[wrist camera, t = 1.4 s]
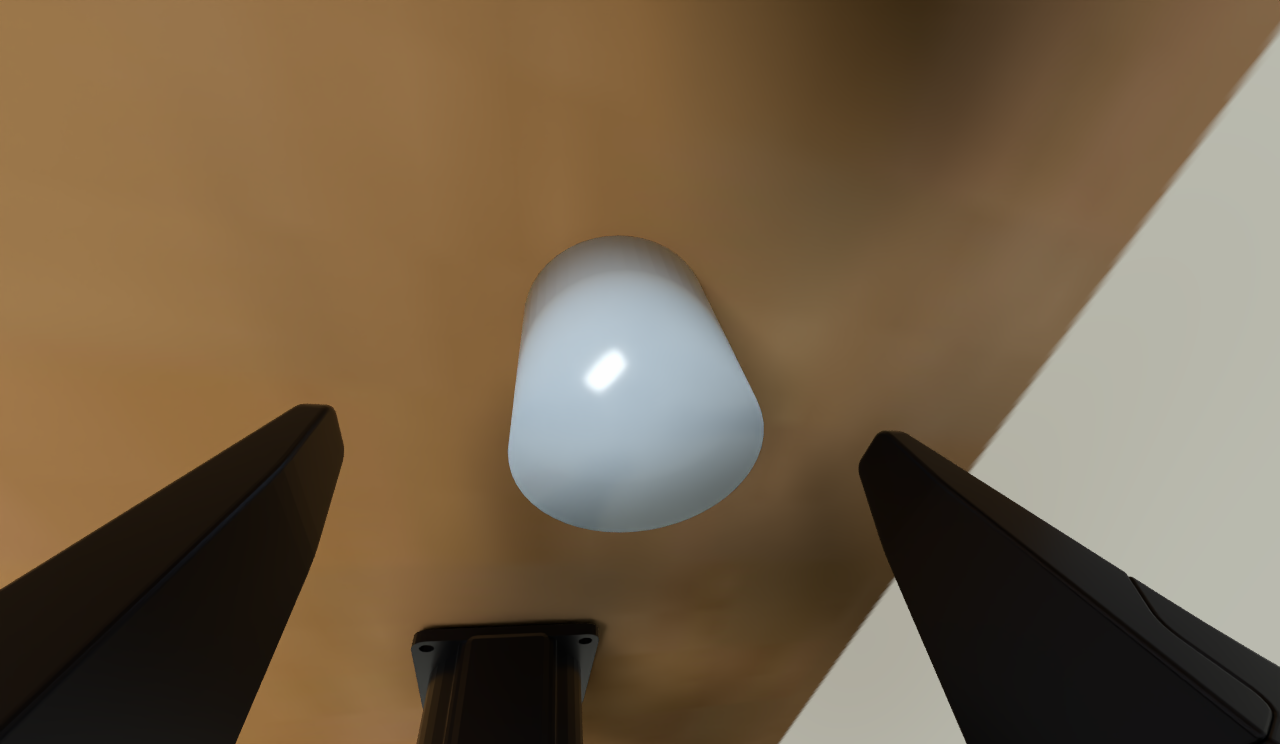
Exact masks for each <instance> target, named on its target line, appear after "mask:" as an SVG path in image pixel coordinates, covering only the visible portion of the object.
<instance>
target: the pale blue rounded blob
mask: <svg viewBox="0 0 1280 744" xmlns="http://www.w3.org/2000/svg"><path fill="white" fill-rule="evenodd" d="M763 436H764V423H763V418H762V412H761V409H760V407H759V404H758V402H757V399H756V397H755V395H754V393H753V391H752V389H751V387H750V385H749V383H748V381H747V379H746V377H745V375H744V373H743V371H742V369H741V367H740V365H739V363H738V361H737V359H736V356H735V354H734V352H733V350H732V348H731V346H730V344H729V342H728V340H727V338H726V336H725V334H724V332H723V330H722V328H721V326H720V324H719V322H718V320H717V318H716V316H715V314H714V312H713V309H712V307H711V305H710V303H709V301H708V299H707V297H706V295H705V293H704V291H703V289H702V287H701V285H700V283H699V281H698V279H697V277H696V276H695V274H694V272H693V271H692V270H691V268H690V267H689V266H688V265H687V264H686V262H685V261H683V260H682V259H681V258H680V257H679V256H678V255H677V254H675V253H674V252H672V251H671V250H669V249H668V248H666V247H664V246H662V245H660V244H658V243H656V242H653V241H650V240H646V239H643V238H638V237H632V236H605V237H600V238H594V239H590V240H587V241H584V242H581V243H579V244H577V245H575V246H572V247H570V248H568V249H567V250H565V251H563V252H562V253H560V254H559V255H557V256H556V257H555V258H554V259H553V260H551V261H550V262H549V263H548V264H547V265H546V266H545V267H544V268H543V270H542V271H541V272H540V273H539V274H538V276H537V278H536V279H535V281H534V282H533V284H532V286H531V288H530V290H529V293H528V296H527V299H526V303H525V309H524V317H523V326H522V334H521V343H520V352H519V360H518V369H517V378H516V386H515V395H514V403H513V412H512V421H511V429H510V438H509V447H508V458H509V465H510V469H511V473H512V476H513V478H514V480H515V482H516V484H517V486H518V487H519V489H520V490H521V492H522V493H523V494H524V496H525V497H526V498H527V499H528V500H529V501H530V502H531V503H532V504H534V505H535V506H536V507H537V508H539V509H540V510H541V511H543V512H544V513H546V514H548V515H550V516H551V517H553V518H555V519H557V520H560V521H562V522H564V523H567V524H570V525H573V526H576V527H580V528H584V529H589V530H595V531H603V532H636V531H645V530H651V529H656V528H661V527H665V526H669V525H672V524H675V523H678V522H681V521H684V520H686V519H689V518H691V517H694V516H696V515H698V514H700V513H702V512H704V511H706V510H707V509H709V508H711V507H712V506H714V505H716V504H717V503H718V502H720V501H721V500H723V499H724V498H725V497H727V496H728V495H729V494H730V493H731V492H732V491H733V490H735V489H736V488H737V487H738V485H739V484H740V483H741V482H742V481H743V480H744V479H745V477H746V476H747V475H748V473H749V472H750V471H751V469H752V467H753V465H754V464H755V462H756V460H757V458H758V455H759V452H760V450H761V447H762V441H763Z"/></svg>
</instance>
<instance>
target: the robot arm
mask: <svg viewBox="0 0 1280 744" xmlns="http://www.w3.org/2000/svg"><path fill="white" fill-rule="evenodd" d="M343 457H344V445H343V440H342V436H341V432H340V428H339V424H338V419H337V415H336V412H335V410H334V408H333V407H331V406H329V405H320V404H300V405H297V406H295V407H293V408H292V409H290V410H288V411H287V412H285V413H284V414H282V415H280V416H279V417H277V418H276V419H274V420H272V421H271V422H269V423H268V424H266V425H264V426H263V427H261V428H260V429H258V430H256V431H255V432H253V433H251V434H250V435H248V436H247V437H245V438H243V439H242V440H240V441H239V442H237V443H235V444H234V445H232V446H231V447H229V448H227V449H226V450H224V451H222V452H221V453H219V454H218V455H216V456H214V457H213V458H211V459H210V460H208V461H206V462H205V463H203V464H202V465H200V466H198V467H197V468H195V469H194V470H192V471H190V472H189V473H187V474H185V475H184V476H182V477H181V478H179V479H177V480H176V481H174V482H173V483H171V484H169V485H168V486H166V487H165V488H163V489H161V490H160V491H158V492H156V493H155V494H153V495H152V496H150V497H148V498H147V499H145V500H144V501H142V502H140V503H139V504H137V505H136V506H134V507H132V508H131V509H129V510H128V511H126V512H124V513H123V514H121V515H119V516H118V517H116V518H115V519H113V520H111V521H110V522H108V523H107V524H105V525H103V526H102V527H100V528H99V529H97V530H95V531H94V532H92V533H91V534H89V535H87V536H86V537H84V538H82V539H81V540H79V541H78V542H76V543H74V544H73V545H71V546H70V547H68V548H66V549H65V550H63V551H62V552H60V553H58V554H57V555H55V556H53V557H52V558H50V559H49V560H47V561H45V562H44V563H42V564H41V565H39V566H37V567H36V568H34V569H33V570H31V571H29V572H28V573H26V574H25V575H23V576H21V577H20V578H18V579H16V580H15V581H13V582H12V583H10V584H8V585H7V586H5V587H4V588H2V589H0V744H235V743H236V741H237V739H238V736H239V734H240V732H241V729H242V727H243V725H244V722H245V720H246V718H247V715H248V713H249V711H250V708H251V706H252V703H253V701H254V699H255V696H256V694H257V692H258V689H259V687H260V685H261V682H262V680H263V678H264V675H265V673H266V671H267V668H268V666H269V664H270V661H271V659H272V657H273V654H274V652H275V650H276V647H277V645H278V643H279V640H280V638H281V635H282V633H283V631H284V628H285V626H286V624H287V621H288V619H289V617H290V614H291V612H292V610H293V607H294V605H295V603H296V600H297V598H298V596H299V593H300V591H301V589H302V586H303V584H304V582H305V579H306V577H307V575H308V572H309V570H310V567H311V564H312V562H313V559H314V557H315V554H316V551H317V547H318V544H319V541H320V538H321V534H322V531H323V527H324V524H325V521H326V517H327V514H328V510H329V507H330V503H331V500H332V496H333V493H334V490H335V486H336V483H337V479H338V476H339V472H340V469H341V466H342V462H343ZM859 475H860V479H861V482H862V485H863V488H864V491H865V494H866V497H867V501H868V504H869V507H870V510H871V513H872V516H873V519H874V522H875V526H876V529H877V532H878V535H879V538H880V541H881V544H882V547H883V549H884V552H885V555H886V557H887V560H888V562H889V564H890V567H891V569H892V571H893V574H894V576H895V578H896V581H897V583H898V585H899V588H900V590H901V592H902V594H903V597H904V599H905V602H906V604H907V606H908V609H909V611H910V613H911V616H912V618H913V620H914V622H915V625H916V627H917V630H918V632H919V634H920V636H921V639H922V641H923V644H924V646H925V648H926V651H927V653H928V655H929V657H930V660H931V662H932V664H933V667H934V669H935V671H936V674H937V676H938V678H939V680H940V683H941V685H942V688H943V690H944V692H945V695H946V697H947V699H948V702H949V704H950V706H951V709H952V711H953V713H954V716H955V718H956V720H957V723H958V725H959V727H960V730H961V732H962V734H963V736H964V738H965V741H966V743H967V744H1280V667H1279V666H1277V665H1276V664H1274V663H1272V662H1271V661H1269V660H1267V659H1265V658H1264V657H1262V656H1260V655H1259V654H1257V653H1255V652H1254V651H1252V650H1250V649H1249V648H1247V647H1245V646H1244V645H1242V644H1240V643H1238V642H1237V641H1235V640H1233V639H1232V638H1230V637H1228V636H1227V635H1225V634H1223V633H1222V632H1220V631H1218V630H1217V629H1215V628H1213V627H1212V626H1210V625H1208V624H1207V623H1205V622H1203V621H1202V620H1200V619H1199V618H1197V617H1195V616H1194V615H1192V614H1190V613H1189V612H1187V611H1185V610H1184V609H1182V608H1181V607H1179V606H1177V605H1176V604H1174V603H1173V602H1171V601H1170V600H1168V599H1166V598H1165V597H1163V596H1162V595H1160V594H1158V593H1157V592H1155V591H1154V590H1152V589H1150V588H1149V587H1147V586H1146V585H1144V584H1143V583H1141V582H1140V581H1138V580H1136V579H1135V578H1133V577H1128V576H1127V574H1126V573H1125V572H1124V571H1122V570H1120V569H1119V568H1117V567H1116V566H1114V565H1113V564H1111V563H1109V562H1108V561H1106V560H1105V559H1103V558H1101V557H1100V556H1098V555H1097V554H1095V553H1094V552H1092V551H1090V550H1089V549H1087V548H1086V547H1084V546H1083V545H1081V544H1080V543H1078V542H1076V541H1075V540H1073V539H1072V538H1070V537H1069V536H1067V535H1065V534H1064V533H1062V532H1061V531H1059V530H1057V529H1056V528H1054V527H1053V526H1051V525H1050V524H1048V523H1047V522H1045V521H1043V520H1042V519H1040V518H1039V517H1037V516H1035V515H1034V514H1032V513H1031V512H1029V511H1027V510H1026V509H1025V508H1023V507H1021V506H1020V505H1018V504H1017V503H1015V502H1013V501H1012V500H1010V499H1009V498H1007V497H1006V496H1004V495H1002V494H1001V493H999V492H998V491H996V490H994V489H993V488H991V487H990V486H988V485H987V484H985V483H984V482H982V481H980V480H979V479H977V478H976V477H974V476H973V475H971V474H969V473H968V472H966V471H965V470H963V469H962V468H960V467H958V466H957V465H955V464H954V463H952V462H951V461H949V460H947V459H946V458H944V457H943V456H941V455H940V454H938V453H936V452H935V451H933V450H932V449H930V448H929V447H927V446H925V445H924V444H922V443H921V442H919V441H918V440H916V439H914V438H913V437H911V436H910V435H908V434H906V433H904V432H901V431H881V432H879V433H878V434H877V435H876V436H875V438H874V439H873V441H872V442H871V444H870V446H869V447H868V449H867V450H866V452H865V454H864V455H863V457H862V458H861V460H860V463H859ZM598 642H599V634H598V627H597V626H596V625H594V624H590V623H582V624H557V625H532V626H508V627H483V628H458V629H434V630H422V631H419V632H417V633H416V634H415V635H414V639H413V643H412V647H411V652H412V657H413V662H414V667H415V672H416V677H417V682H418V687H419V692H420V697H421V702H422V707H423V714H422V719H421V724H420V729H419V734H418V739H417V744H583V736H582V702H583V699H584V695H585V691H586V688H587V684H588V680H589V676H590V672H591V669H592V665H593V661H594V657H595V653H596V649H597V646H598Z"/></svg>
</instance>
